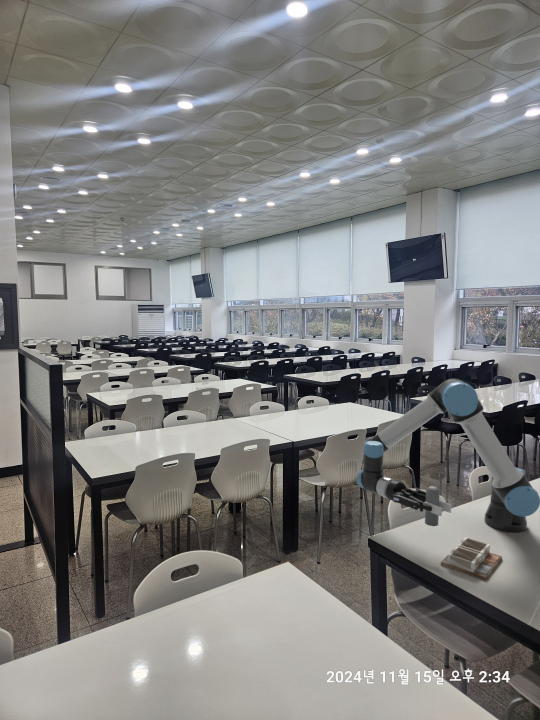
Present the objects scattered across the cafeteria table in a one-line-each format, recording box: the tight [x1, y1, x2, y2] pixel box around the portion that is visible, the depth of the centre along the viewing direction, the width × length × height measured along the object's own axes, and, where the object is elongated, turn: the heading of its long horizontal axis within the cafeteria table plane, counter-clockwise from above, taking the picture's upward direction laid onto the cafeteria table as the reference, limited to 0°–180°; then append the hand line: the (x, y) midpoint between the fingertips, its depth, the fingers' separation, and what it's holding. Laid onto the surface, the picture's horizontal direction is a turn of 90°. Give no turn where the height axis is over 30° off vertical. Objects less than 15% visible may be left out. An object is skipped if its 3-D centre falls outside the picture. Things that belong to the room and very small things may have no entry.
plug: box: [424, 485, 441, 527], centre depth 161 cm, size 4×4×13 cm
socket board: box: [440, 536, 503, 581], centre depth 156 cm, size 18×14×4 cm
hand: (445, 510), depth 157 cm, fingers closed on plug, 4 cm apart
